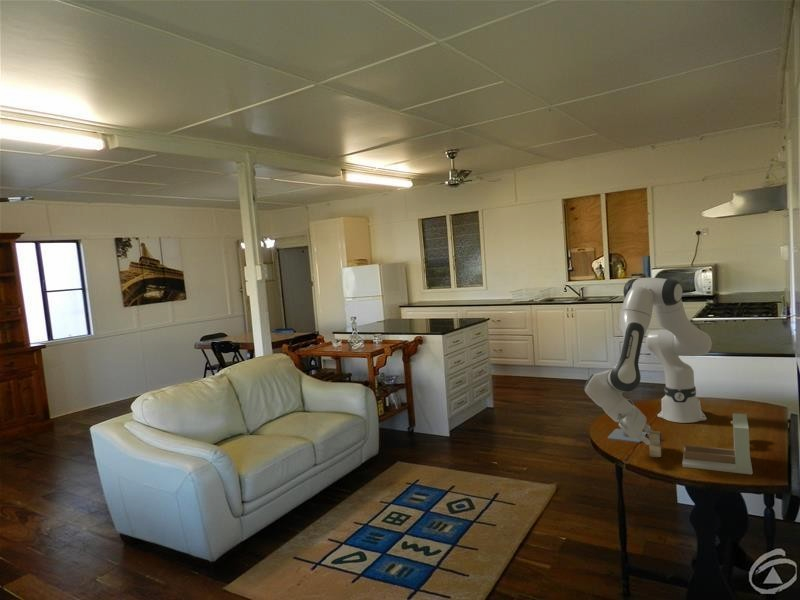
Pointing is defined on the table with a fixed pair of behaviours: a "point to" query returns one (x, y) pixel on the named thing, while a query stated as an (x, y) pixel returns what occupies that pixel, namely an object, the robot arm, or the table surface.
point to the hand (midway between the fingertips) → (651, 439)
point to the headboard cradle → (723, 452)
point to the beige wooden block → (655, 443)
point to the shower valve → (623, 436)
